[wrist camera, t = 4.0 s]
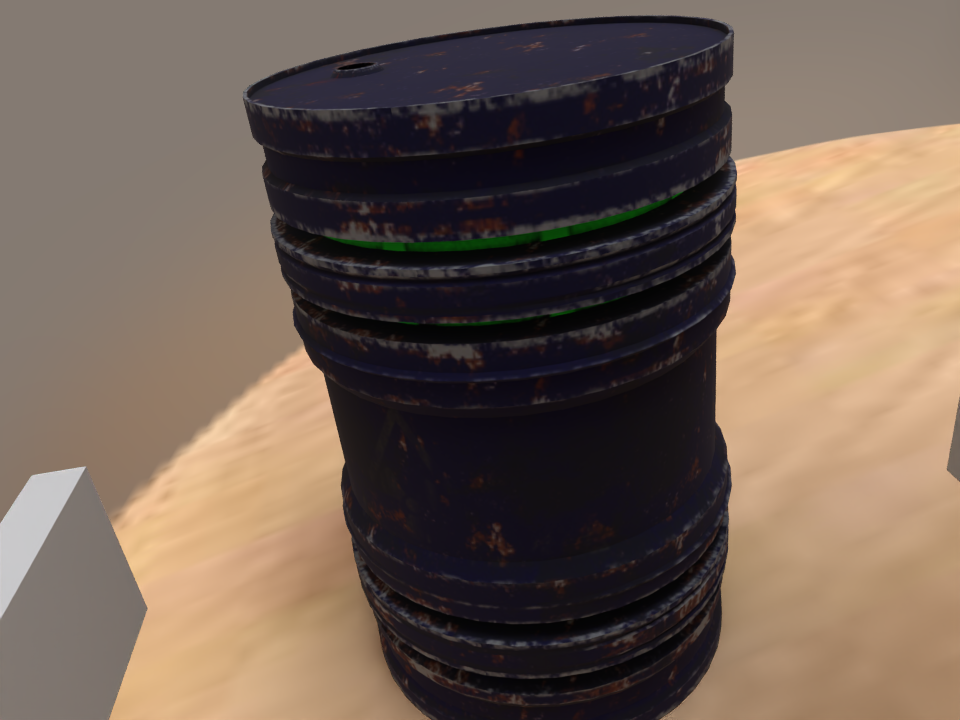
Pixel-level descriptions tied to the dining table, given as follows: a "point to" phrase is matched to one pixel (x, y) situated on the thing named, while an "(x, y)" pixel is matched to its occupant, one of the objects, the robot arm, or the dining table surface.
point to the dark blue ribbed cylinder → (521, 348)
